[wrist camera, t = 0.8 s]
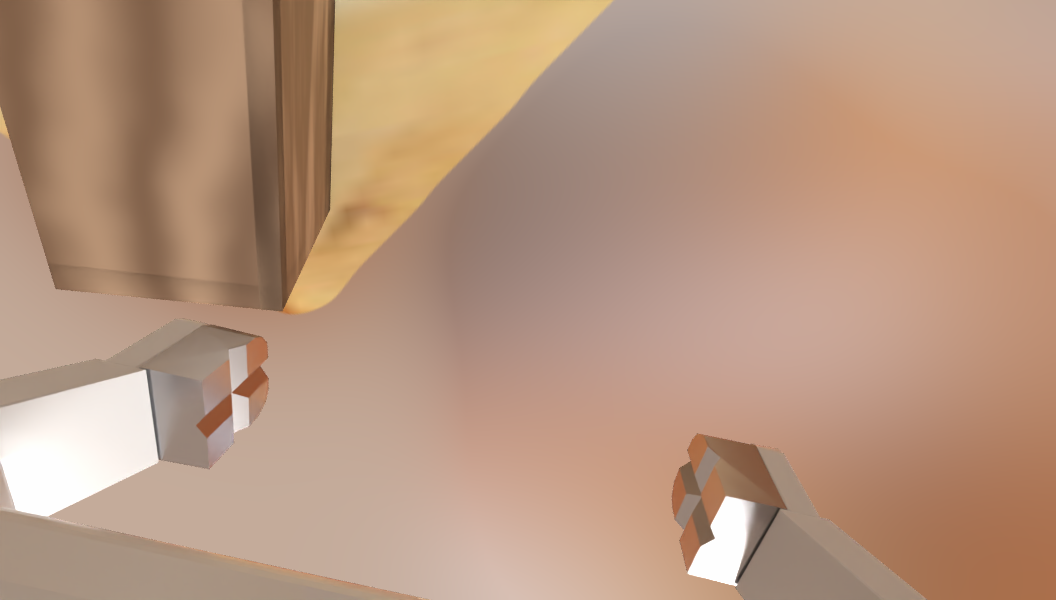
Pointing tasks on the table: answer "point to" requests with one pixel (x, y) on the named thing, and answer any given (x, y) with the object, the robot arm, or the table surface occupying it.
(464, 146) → the table surface
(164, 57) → the brown wooden box
